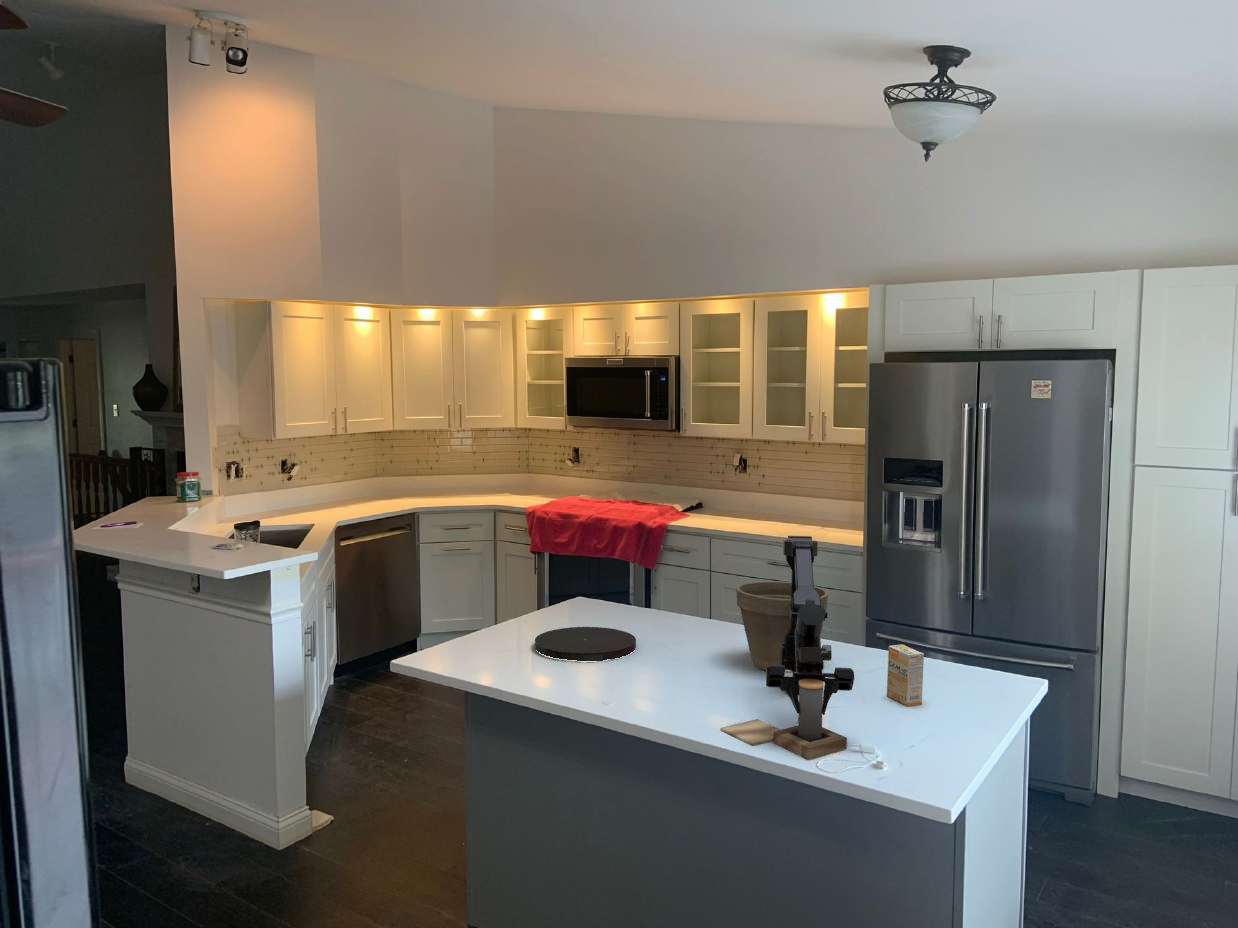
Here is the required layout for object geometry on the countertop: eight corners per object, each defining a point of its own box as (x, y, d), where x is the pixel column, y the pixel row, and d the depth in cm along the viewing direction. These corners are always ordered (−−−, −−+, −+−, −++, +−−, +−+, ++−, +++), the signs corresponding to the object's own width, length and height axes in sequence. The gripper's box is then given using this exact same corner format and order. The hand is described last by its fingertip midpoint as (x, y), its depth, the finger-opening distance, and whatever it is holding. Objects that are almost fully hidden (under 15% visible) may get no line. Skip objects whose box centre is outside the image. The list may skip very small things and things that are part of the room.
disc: (520, 641, 283) (520, 631, 283) (610, 631, 296) (610, 622, 296) (556, 668, 256) (556, 657, 256) (653, 656, 269) (653, 646, 269)
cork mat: (720, 729, 210) (720, 727, 210) (757, 720, 216) (757, 718, 216) (752, 745, 201) (752, 743, 201) (790, 735, 207) (790, 733, 207)
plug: (792, 744, 202) (793, 681, 201) (809, 739, 205) (811, 677, 204) (809, 752, 198) (811, 687, 196) (827, 747, 200) (828, 683, 199)
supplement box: (885, 696, 234) (887, 645, 233) (901, 694, 236) (903, 643, 235) (906, 707, 226) (908, 654, 225) (922, 704, 228) (924, 652, 227)
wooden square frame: (773, 742, 203) (773, 731, 203) (809, 732, 209) (810, 721, 208) (809, 759, 194) (809, 747, 193) (846, 748, 200) (846, 737, 199)
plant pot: (820, 654, 270) (822, 581, 269) (831, 680, 246) (833, 600, 244) (734, 651, 273) (735, 578, 271) (736, 677, 248) (737, 597, 247)
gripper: (767, 628, 204) (768, 694, 194) (854, 632, 202) (859, 698, 192) (765, 653, 213) (766, 717, 203) (849, 657, 210) (854, 722, 200)
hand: (810, 713), depth 199 cm, fingers closed on plug, 5 cm apart
